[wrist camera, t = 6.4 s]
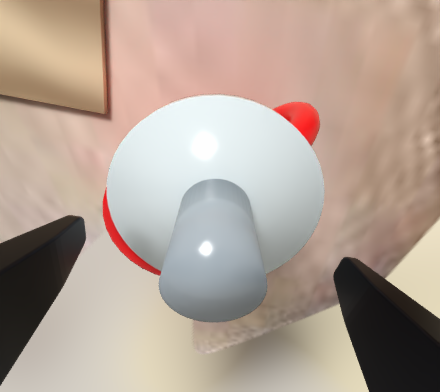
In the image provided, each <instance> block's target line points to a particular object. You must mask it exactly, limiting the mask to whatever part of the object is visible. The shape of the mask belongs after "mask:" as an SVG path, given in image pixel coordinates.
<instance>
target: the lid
mask: <svg viewBox="0 0 440 392" xmlns="http://www.w3.org/2000/svg"><path fill="white" fill-rule="evenodd" d="M107 201H108V207H109V211H110V214H111V218H112V220H113V222H114V224H115V227H116V229H117V231H118V232H119V234H120V235H121V237H122V239H123V240H124V241H125V242H126V244H127V245H128V246H129V247H130V248H131V249H132V250H133V251H134V252H135V253H136V254H137V255H138V256H139V257H140V258H141V259H143V260H144V261H145V262H147V263H148V264H150V265H151V266H153V267H154V268H156V269H158V270H160V271H161V275H160V279H159V290H160V294H161V296H162V298H163V300H164V301H165V303H166V304H167V305H168V306H169V307H170V308H171V309H173V310H174V311H176V312H177V313H179V314H180V315H182V316H185V317H187V318H190V319H193V320H197V321H203V322H225V321H231V320H235V319H238V318H241V317H243V316H245V315H247V314H249V313H250V312H252V311H253V310H255V309H256V308H257V307H258V306H259V305H260V304H261V302H262V301H263V299H264V297H265V295H266V292H267V279H266V274H267V273H269V272H271V271H273V270H275V269H277V268H278V267H280V266H281V265H283V264H284V263H286V262H287V261H289V260H290V259H291V258H292V257H293V256H295V255H296V254H297V253H298V252H299V251H300V250H301V248H302V247H303V246H304V245H305V244H306V242H307V241H308V240H309V238H310V237H311V235H312V234H313V232H314V230H315V228H316V226H317V224H318V221H319V219H320V216H321V212H322V208H323V203H324V180H323V175H322V171H321V167H320V164H319V161H318V159H317V157H316V154H315V152H314V151H313V149H312V147H311V146H310V144H309V143H308V141H307V140H306V139H305V137H304V136H303V135H302V134H301V133H300V132H299V131H298V129H297V128H296V127H294V126H293V125H292V124H291V123H290V122H289V121H287V120H286V119H285V118H284V117H283V116H281V115H280V114H279V113H277V112H276V111H274V110H272V109H271V108H269V107H267V106H265V105H263V104H261V103H258V102H256V101H254V100H251V99H247V98H243V97H240V96H235V95H227V94H202V95H196V96H190V97H186V98H183V99H180V100H176V101H173V102H171V103H169V104H167V105H165V106H163V107H161V108H159V109H157V110H156V111H154V112H153V113H152V114H150V115H149V116H147V117H146V118H145V119H143V120H142V121H141V122H139V123H138V124H137V125H136V126H135V127H134V128H133V129H132V130H131V131H130V132H129V133H128V134H127V136H126V137H125V138H124V140H123V141H122V142H121V144H120V145H119V147H118V149H117V151H116V153H115V154H114V156H113V159H112V162H111V165H110V168H109V172H108V178H107Z"/></svg>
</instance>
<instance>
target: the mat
mask: <svg viewBox="0 0 440 392" xmlns="http://www.w3.org/2000/svg"><path fill="white" fill-rule="evenodd" d="M0 94H2V95H7V96H13V97H18V98H23V99H28V100H34V101H39V102H44V103H49V104H55V105H60V106H65V107H70V108H76V109H81V110H86V111H91V112H97V113H102V114H106V113H108V109H107V82H106V56H105V29H104V2H103V0H0Z"/></svg>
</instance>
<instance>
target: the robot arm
mask: <svg viewBox="0 0 440 392" xmlns="http://www.w3.org/2000/svg"><path fill="white" fill-rule="evenodd" d="M85 240H86V233H85V224H84V219H83V218H82V217H80V216H73V215H68V216H65V217H63V218H61V219H58V220H56V221H53V222H51V223H48V224H46V225H44V226H41V227H39V228H36V229H34V230H32V231H29V232H27V233H24V234H22V235H19V236H17V237H15V238H12V239H10V240H7V241H5V242H3V243H0V385H1V384H2V382H3V381H4V379H5V377H6V376H7V374H8V373H9V371H10V370H11V368H12V366H13V365H14V363H15V362H16V360H17V359H18V357H19V355H20V354H21V352H22V351H23V349H24V347H25V346H26V344H27V343H28V341H29V340H30V338H31V337H32V335H33V333H34V332H35V330H36V329H37V327H38V326H39V324H40V322H41V321H42V319H43V317H44V316H45V315H46V313H47V311H48V310H49V308H50V306H51V305H52V304H53V302H54V300H55V299H56V297H57V296H58V294H59V292H60V291H61V289H62V287H63V286H64V284H65V282H66V280H67V278H68V276H69V274H70V272H71V270H72V268H73V266H74V264H75V262H76V260H77V258H78V256H79V254H80V252H81V250H82V248H83V246H84V243H85ZM333 277H334V283H335V287H336V291H337V295H338V299H339V303H340V307H341V311H342V315H343V318H344V322H345V325H346V328H347V330H348V333H349V336H350V339H351V342H352V345H353V347H354V350H355V353H356V356H357V359H358V362H359V364H360V367H361V370H362V373H363V376H364V379H365V381H366V384H367V387H368V390H369V392H440V319H439V318H438V317H436V316H435V315H434V314H432V313H431V312H429V311H428V310H427V309H425V308H424V307H423V306H421V305H420V304H418V303H417V302H416V301H414V300H413V299H412V298H410V297H409V296H407V295H406V294H405V293H403V292H402V291H400V290H399V289H398V288H397V287H395V286H394V285H392V284H391V283H390V282H388V281H387V280H386V279H384V278H383V277H382V276H380V275H379V274H377V273H376V272H375V271H373V270H372V269H371V268H369V267H368V266H366V265H365V264H364V263H362V262H361V261H360V260H358V259H356V258H351V257H344V258H343V259H342V260H341V262H340V264H339V265H338V267H337V269H336V270H335V272H334V276H333Z"/></svg>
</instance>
